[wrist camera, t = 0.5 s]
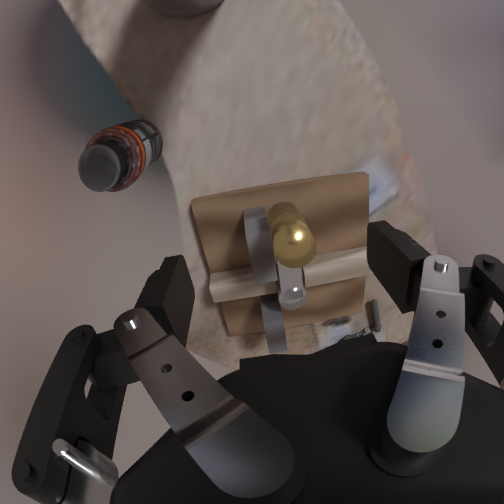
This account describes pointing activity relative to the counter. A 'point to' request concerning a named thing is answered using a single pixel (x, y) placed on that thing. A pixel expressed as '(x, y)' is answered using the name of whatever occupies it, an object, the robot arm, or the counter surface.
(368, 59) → the counter surface
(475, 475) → the robot arm
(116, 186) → the supplement bottle
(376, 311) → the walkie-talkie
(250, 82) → the counter surface
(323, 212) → the lock base
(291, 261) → the swing bar
